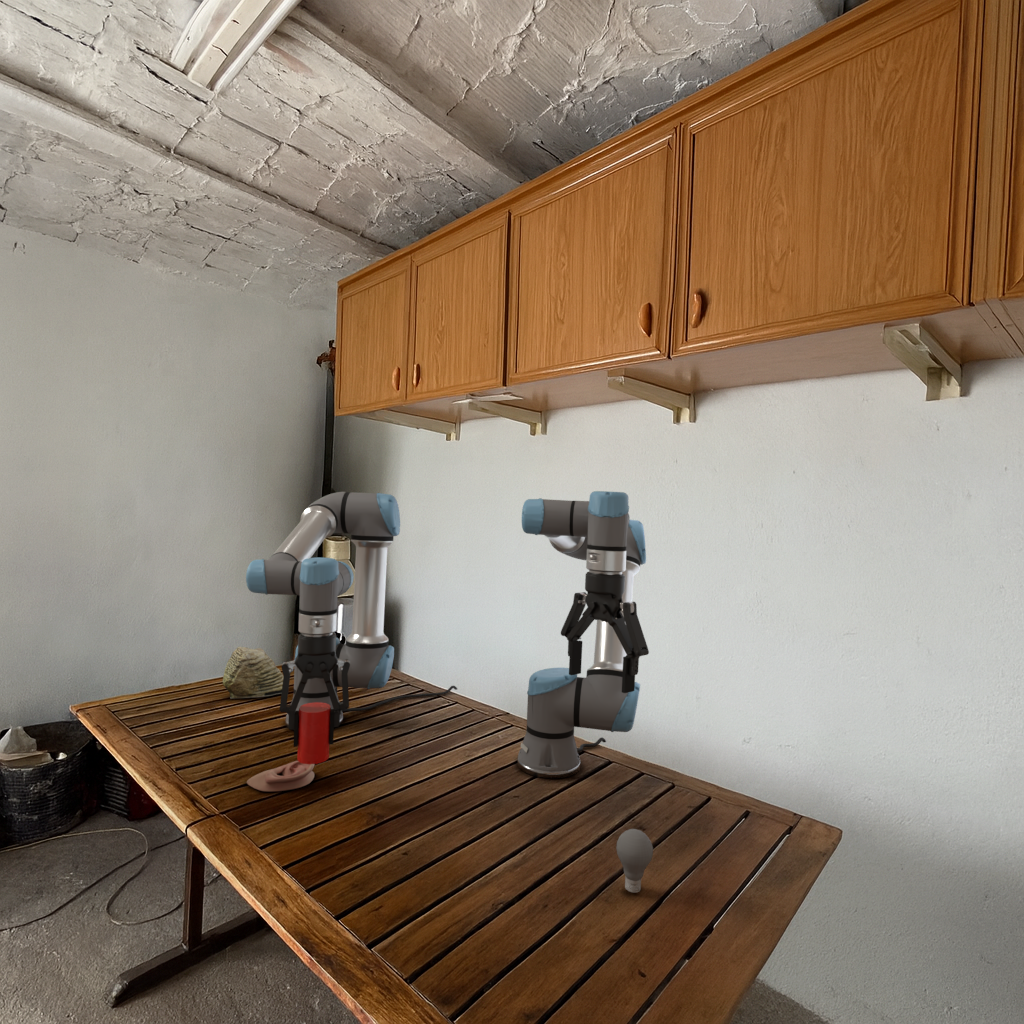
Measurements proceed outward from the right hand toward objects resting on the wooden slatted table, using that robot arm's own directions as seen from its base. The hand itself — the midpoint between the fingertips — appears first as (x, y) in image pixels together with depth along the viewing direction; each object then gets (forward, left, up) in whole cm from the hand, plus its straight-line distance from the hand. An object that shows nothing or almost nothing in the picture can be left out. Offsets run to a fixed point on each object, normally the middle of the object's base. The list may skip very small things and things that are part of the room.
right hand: (600, 682), depth 121 cm
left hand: (+38, -45, -18) cm, 61 cm away
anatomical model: (+40, -57, -30) cm, 75 cm away
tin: (+38, -45, -21) cm, 62 cm away
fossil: (+25, -120, -30) cm, 126 cm away
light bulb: (+7, +15, -30) cm, 35 cm away
